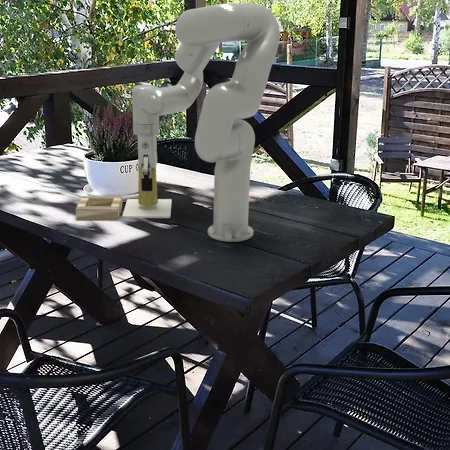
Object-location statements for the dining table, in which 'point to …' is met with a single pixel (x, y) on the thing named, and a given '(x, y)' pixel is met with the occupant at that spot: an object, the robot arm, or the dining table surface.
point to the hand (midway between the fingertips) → (147, 187)
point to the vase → (147, 196)
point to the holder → (99, 208)
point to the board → (147, 209)
